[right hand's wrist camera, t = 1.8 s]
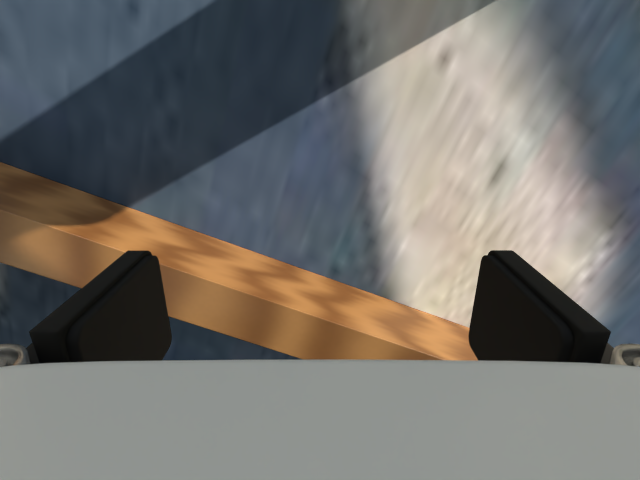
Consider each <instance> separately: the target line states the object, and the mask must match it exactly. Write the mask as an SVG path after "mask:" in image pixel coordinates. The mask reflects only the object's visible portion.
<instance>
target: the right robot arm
mask: <svg viewBox="0 0 640 480" xmlns="http://www.w3.org/2000/svg"><path fill="white" fill-rule="evenodd" d="M29 333H30V336H31V339H32V342H33V343H32V344H31V345H29V346H28V347H27V348H25V347H24V346H21V345H19V344H1V345H0V480H640V345H639V344H621V345H619V346H616V347H615V348H613V347H612V346H611V345H609V344H608V343H607V342H608V339H609V336H610V333H611V332H610V331H609V330H608V329H607V328H606V327H604V326H603V325H602V324H601V323H600V322H598V321H597V320H596V319H595V318H594V317H592V316H591V315H590V314H589V313H587V312H586V311H585V310H584V309H583V308H581V307H580V306H579V305H578V304H577V303H575V302H574V301H573V300H572V299H571V298H569V297H568V296H567V295H566V294H564V293H563V292H562V291H561V290H560V289H558V288H557V287H556V286H555V285H554V284H552V283H551V282H550V281H549V280H548V279H546V278H545V277H544V276H543V275H542V274H540V273H539V272H538V271H537V270H535V269H534V268H533V267H532V266H531V265H529V264H528V263H527V262H526V261H525V260H523V259H522V258H521V257H520V256H519V255H517V254H516V253H515V252H514V251H490V252H489V253H488V255H485V256H483V257H482V260H481V264H480V270H479V276H478V282H477V288H476V294H475V300H474V306H473V311H472V317H471V323H470V329H469V336H468V337H469V344H470V347H471V349H472V351H473V352H474V354H475V356H476V357H477V359H478V361H471V360H171V361H162V359H163V357H164V356H165V354H166V352H167V351H168V349H169V347H170V344H171V337H172V336H171V329H170V323H169V317H168V311H167V306H166V300H165V294H164V288H163V282H162V276H161V270H160V264H159V260H158V257H157V256H155V255H152V253H151V252H150V251H126V252H125V253H124V254H123V255H121V256H120V257H119V258H118V259H117V260H115V261H114V262H113V263H112V264H111V265H109V266H108V267H107V268H106V269H105V270H103V271H102V272H101V273H100V274H98V275H97V276H96V277H95V278H94V279H92V280H91V281H90V282H89V283H88V284H86V285H85V286H84V287H83V288H82V289H80V290H79V291H78V292H77V293H75V294H74V295H73V296H72V297H71V298H69V299H68V300H67V301H66V302H65V303H63V304H62V305H61V306H60V307H59V308H57V309H56V310H55V311H54V312H53V313H51V314H50V315H49V316H48V317H46V318H45V319H44V320H43V321H42V322H40V323H39V324H38V325H37V326H36V327H34V328H33V329H32V330H31V331H30V332H29Z"/></svg>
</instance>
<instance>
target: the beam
mask: <svg viewBox="0 0 640 480" xmlns="http://www.w3.org/2000/svg"><path fill="white" fill-rule="evenodd" d="M126 251H150V252H151V253H152V255H155V256H157V257H158V260H159V264H160V270H161V276H162V282H163V288H164V294H165V300H166V306H167V311H168V316H169V317H172V318H176V319H179V320H182V321H185V322H188V323H191V324H194V325H197V326H201V327H204V328H207V329H210V330H213V331H216V332H219V333H222V334H225V335H229V336H232V337H235V338H238V339H241V340H244V341H247V342H250V343H254V344H257V345H260V346H263V347H266V348H269V349H272V350H275V351H278V352H282V353H285V354H288V355H291V356H294V357H297V358H300V359H303V360H471V361H478V359H477V357H476V356H475V354H474V352H473V351H472V349H471V347H470V344H469V337H468V336H469V329H470V328H468V327H465V326H462V325H459V324H456V323H453V322H451V321H448V320H445V319H442V318H439V317H437V316H434V315H431V314H428V313H425V312H422V311H420V310H417V309H414V308H411V307H408V306H405V305H403V304H400V303H397V302H394V301H391V300H389V299H386V298H383V297H380V296H377V295H374V294H372V293H369V292H366V291H363V290H360V289H357V288H355V287H352V286H349V285H346V284H343V283H340V282H338V281H335V280H332V279H329V278H326V277H324V276H321V275H318V274H315V273H312V272H309V271H307V270H304V269H301V268H298V267H295V266H292V265H290V264H287V263H284V262H281V261H278V260H275V259H273V258H270V257H267V256H264V255H261V254H259V253H256V252H253V251H250V250H247V249H244V248H242V247H239V246H236V245H233V244H230V243H227V242H225V241H222V240H219V239H216V238H213V237H211V236H208V235H205V234H202V233H199V232H196V231H194V230H191V229H188V228H185V227H182V226H179V225H177V224H174V223H171V222H168V221H165V220H162V219H160V218H157V217H154V216H151V215H148V214H146V213H143V212H140V211H137V210H134V209H131V208H129V207H126V206H123V205H120V204H117V203H114V202H112V201H109V200H106V199H103V198H100V197H97V196H95V195H92V194H89V193H86V192H83V191H81V190H78V189H75V188H72V187H69V186H66V185H64V184H61V183H58V182H55V181H52V180H49V179H47V178H44V177H41V176H38V175H35V174H33V173H30V172H27V171H24V170H21V169H18V168H16V167H13V166H10V165H7V164H4V163H1V162H0V262H1V263H4V264H7V265H10V266H14V267H17V268H20V269H23V270H26V271H29V272H32V273H35V274H38V275H42V276H45V277H48V278H51V279H54V280H57V281H60V282H63V283H67V284H70V285H73V286H76V287H79V288H83V287H84V286H85V285H86V284H88V283H89V282H90V281H91V280H92V279H94V278H95V277H96V276H97V275H98V274H100V273H101V272H102V271H103V270H105V269H106V268H107V267H108V266H109V265H111V264H112V263H113V262H114V261H115V260H117V259H118V258H119V257H120V256H121V255H123V254H124V253H125V252H126Z"/></svg>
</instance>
